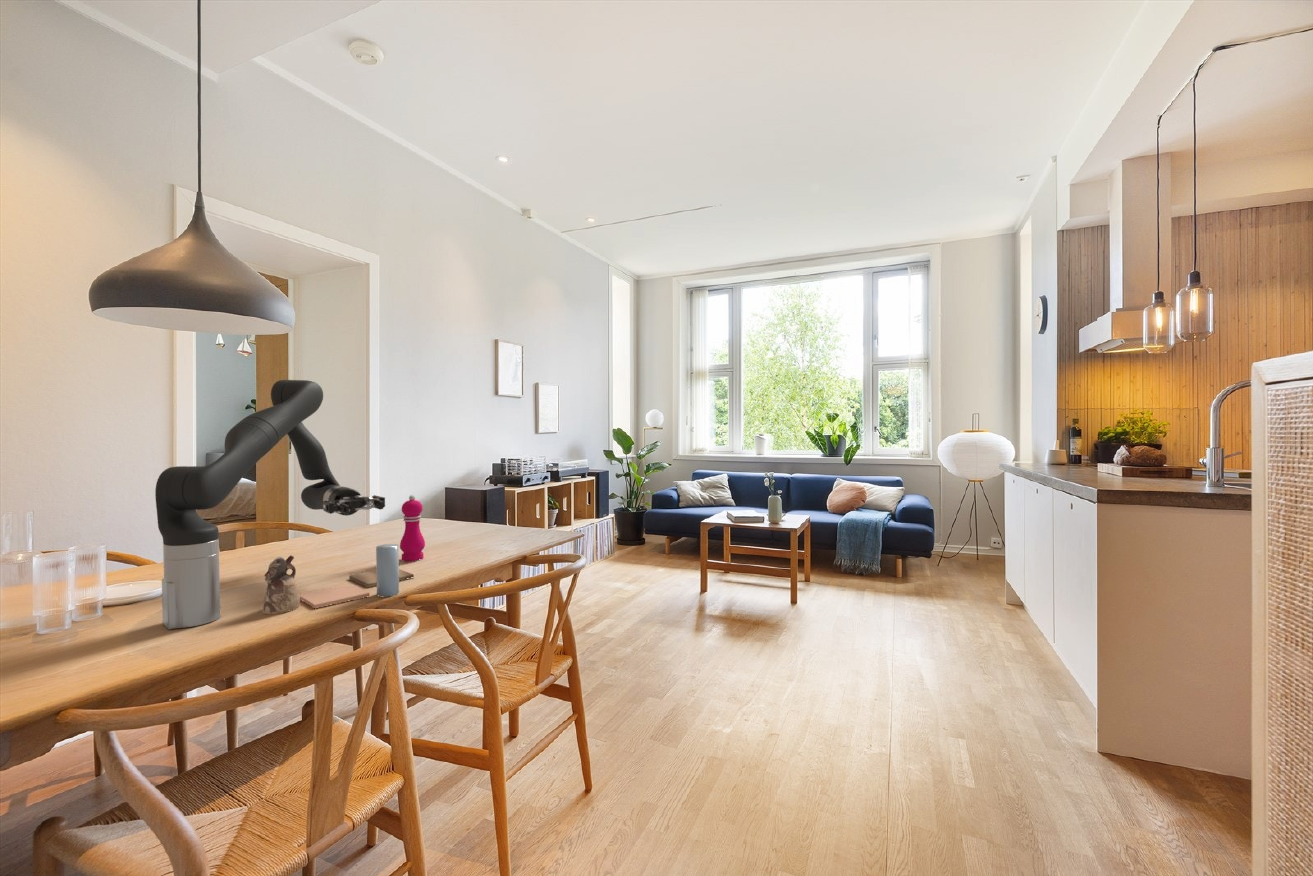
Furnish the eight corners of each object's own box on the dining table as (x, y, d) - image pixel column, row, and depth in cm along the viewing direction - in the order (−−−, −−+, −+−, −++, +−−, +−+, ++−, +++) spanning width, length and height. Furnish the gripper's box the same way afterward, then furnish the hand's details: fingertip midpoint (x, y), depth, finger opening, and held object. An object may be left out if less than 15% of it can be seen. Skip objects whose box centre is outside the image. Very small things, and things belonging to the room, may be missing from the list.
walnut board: (368, 587, 147) (368, 584, 147) (349, 579, 154) (349, 575, 154) (413, 578, 156) (413, 574, 156) (393, 570, 164) (393, 567, 164)
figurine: (260, 608, 131) (259, 556, 130) (296, 602, 135) (295, 551, 135) (264, 616, 125) (263, 562, 125) (302, 609, 130) (301, 557, 129)
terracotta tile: (315, 609, 130) (315, 604, 130) (297, 598, 138) (297, 594, 138) (369, 596, 139) (369, 592, 139) (349, 587, 147) (349, 583, 147)
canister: (382, 598, 138) (381, 549, 138) (373, 594, 141) (372, 546, 141) (402, 593, 142) (402, 546, 141) (393, 589, 145) (392, 543, 145)
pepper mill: (404, 556, 180) (403, 493, 180) (428, 556, 181) (427, 493, 180) (396, 562, 173) (395, 496, 172) (421, 561, 174) (420, 496, 173)
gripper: (313, 489, 155) (335, 496, 144) (368, 484, 165) (392, 490, 154) (314, 517, 155) (336, 525, 144) (369, 510, 166) (393, 517, 155)
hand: (365, 507), depth 149 cm, fingers open, 8 cm apart
